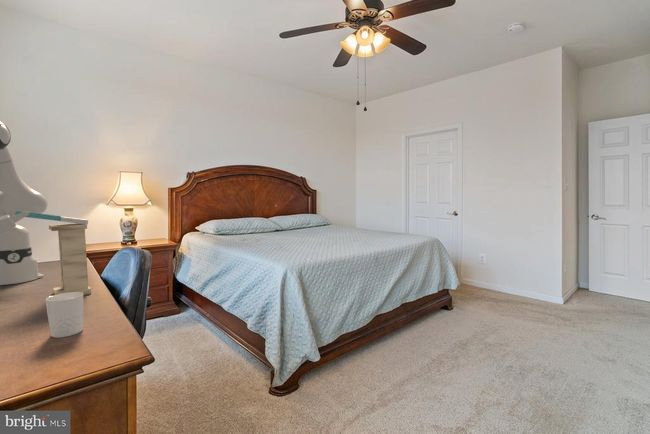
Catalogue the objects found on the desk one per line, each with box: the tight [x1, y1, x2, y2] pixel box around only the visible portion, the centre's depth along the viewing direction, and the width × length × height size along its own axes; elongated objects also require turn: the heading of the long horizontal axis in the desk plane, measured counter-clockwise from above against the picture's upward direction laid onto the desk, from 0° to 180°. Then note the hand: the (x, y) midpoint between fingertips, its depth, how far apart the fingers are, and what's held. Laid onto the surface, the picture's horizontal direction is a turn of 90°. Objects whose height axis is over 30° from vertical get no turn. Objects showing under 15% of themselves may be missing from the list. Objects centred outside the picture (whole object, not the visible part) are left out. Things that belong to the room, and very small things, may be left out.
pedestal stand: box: [48, 223, 92, 296], centre depth 123 cm, size 12×10×26 cm
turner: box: [15, 211, 89, 226], centre depth 119 cm, size 20×8×2 cm, turn 135°
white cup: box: [44, 292, 84, 339], centre depth 87 cm, size 8×8×10 cm
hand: (27, 212), depth 114 cm, fingers closed on turner, 2 cm apart
